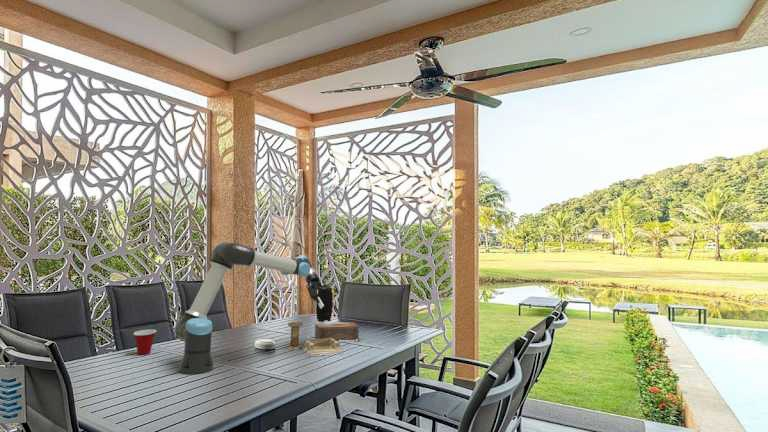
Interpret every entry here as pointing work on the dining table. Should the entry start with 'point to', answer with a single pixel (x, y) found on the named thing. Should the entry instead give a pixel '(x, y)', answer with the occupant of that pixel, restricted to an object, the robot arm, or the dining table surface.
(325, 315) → the portable speaker
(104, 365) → the dining table surface
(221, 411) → the dining table surface
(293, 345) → the bobbin
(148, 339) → the plastic cup
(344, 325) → the tissue box cover
